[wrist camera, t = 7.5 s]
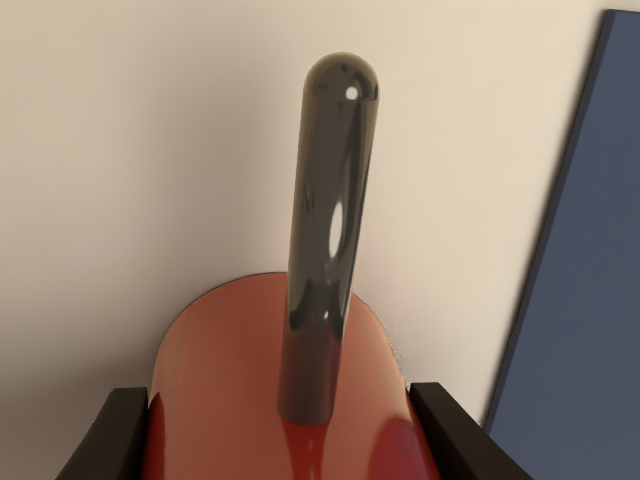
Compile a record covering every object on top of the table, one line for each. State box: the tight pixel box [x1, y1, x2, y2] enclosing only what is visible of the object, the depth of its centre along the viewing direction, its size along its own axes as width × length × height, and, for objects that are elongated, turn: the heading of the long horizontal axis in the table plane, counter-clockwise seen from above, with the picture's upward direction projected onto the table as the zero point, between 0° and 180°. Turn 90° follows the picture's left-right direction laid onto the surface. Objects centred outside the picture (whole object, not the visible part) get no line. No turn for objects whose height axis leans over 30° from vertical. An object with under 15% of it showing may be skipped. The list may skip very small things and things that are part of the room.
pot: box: [137, 52, 442, 480], centre depth 10 cm, size 11×5×6 cm, turn 174°
